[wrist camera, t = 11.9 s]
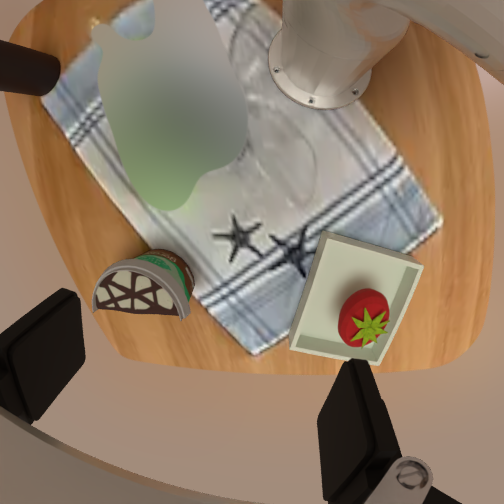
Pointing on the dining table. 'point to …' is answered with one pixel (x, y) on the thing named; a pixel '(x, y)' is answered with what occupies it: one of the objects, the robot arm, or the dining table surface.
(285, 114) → the dining table surface
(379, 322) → the strawberry
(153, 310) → the food container
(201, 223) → the dining table surface
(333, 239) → the serving tray
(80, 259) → the dining table surface
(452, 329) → the dining table surface
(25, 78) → the bottle
